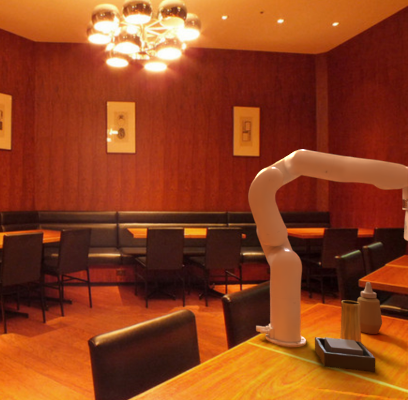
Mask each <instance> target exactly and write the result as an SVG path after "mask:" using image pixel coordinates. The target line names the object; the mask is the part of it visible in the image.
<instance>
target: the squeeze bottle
mask: <svg viewBox="0 0 408 400" xmlns="http://www.w3.org/2000/svg"><path fill="white" fill-rule="evenodd" d="M356 302H359V303H360V330H361V333H363V334H364V333H365V334H370V335H378V334H379V333H380V330H381V328H382V325H383V317H382V311H381V310H382V309H381V302H380V300H379V299H378V298H377V293H376V292H374V291H373V287H372V284H371V282H370V281H366V282H365V287H364V289H363V290H361V291H360V296H359V297H358V298H357V301H356Z"/></svg>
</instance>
